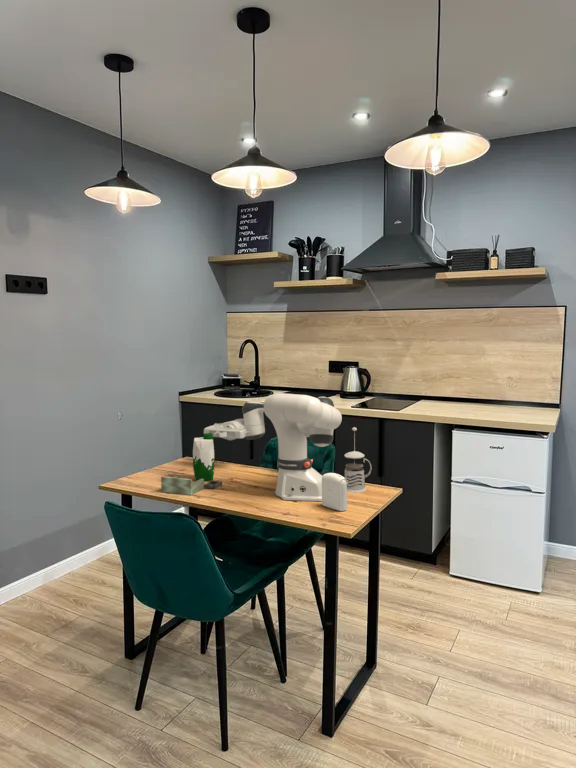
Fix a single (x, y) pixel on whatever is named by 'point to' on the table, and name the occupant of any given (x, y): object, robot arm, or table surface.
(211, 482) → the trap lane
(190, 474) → the table surface
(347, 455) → the french press
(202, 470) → the soya milk
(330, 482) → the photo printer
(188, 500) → the table surface
